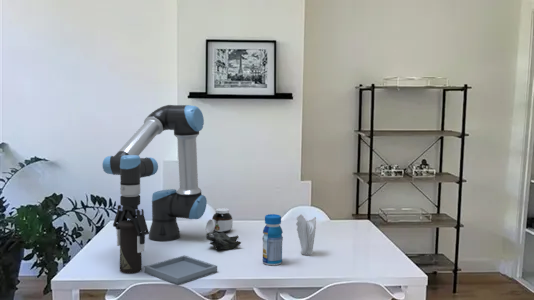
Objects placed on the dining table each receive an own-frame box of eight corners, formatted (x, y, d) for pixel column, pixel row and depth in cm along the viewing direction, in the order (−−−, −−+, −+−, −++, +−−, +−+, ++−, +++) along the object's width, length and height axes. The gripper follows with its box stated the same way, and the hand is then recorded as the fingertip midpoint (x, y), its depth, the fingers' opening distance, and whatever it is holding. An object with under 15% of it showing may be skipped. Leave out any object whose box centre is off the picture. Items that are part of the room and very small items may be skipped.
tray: (144, 272, 204) (144, 266, 204) (184, 261, 219) (184, 255, 219) (177, 285, 191) (177, 278, 191) (217, 272, 206) (217, 265, 206)
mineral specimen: (223, 243, 227) (219, 222, 232) (202, 253, 233) (199, 232, 238) (245, 248, 238) (241, 228, 243) (224, 257, 244) (221, 237, 249)
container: (121, 267, 210) (120, 218, 208) (144, 266, 211) (143, 218, 209) (117, 274, 202) (116, 223, 200) (140, 273, 202) (140, 223, 200)
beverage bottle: (275, 267, 213) (276, 219, 211) (258, 263, 217) (258, 216, 215) (286, 261, 220) (286, 215, 218) (268, 258, 225) (269, 212, 223)
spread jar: (234, 231, 268) (234, 209, 267) (221, 236, 259) (221, 213, 258) (216, 228, 275) (216, 206, 274) (202, 232, 265) (202, 210, 264)
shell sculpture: (317, 252, 234) (318, 213, 233) (313, 257, 227) (314, 216, 225) (300, 250, 237) (300, 211, 235) (294, 255, 229) (295, 215, 228)
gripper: (103, 192, 209) (104, 244, 210) (141, 200, 192) (141, 257, 194) (120, 190, 214) (120, 240, 216) (158, 198, 198) (157, 252, 200)
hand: (130, 248), depth 205 cm, fingers open, 13 cm apart
